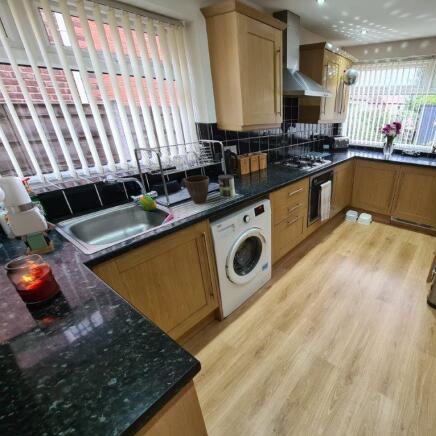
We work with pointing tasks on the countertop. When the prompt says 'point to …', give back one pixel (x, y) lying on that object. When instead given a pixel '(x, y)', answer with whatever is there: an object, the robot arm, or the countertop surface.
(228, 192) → the coffee can
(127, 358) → the countertop surface
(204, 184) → the flower pot
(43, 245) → the green pad
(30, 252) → the base pad
